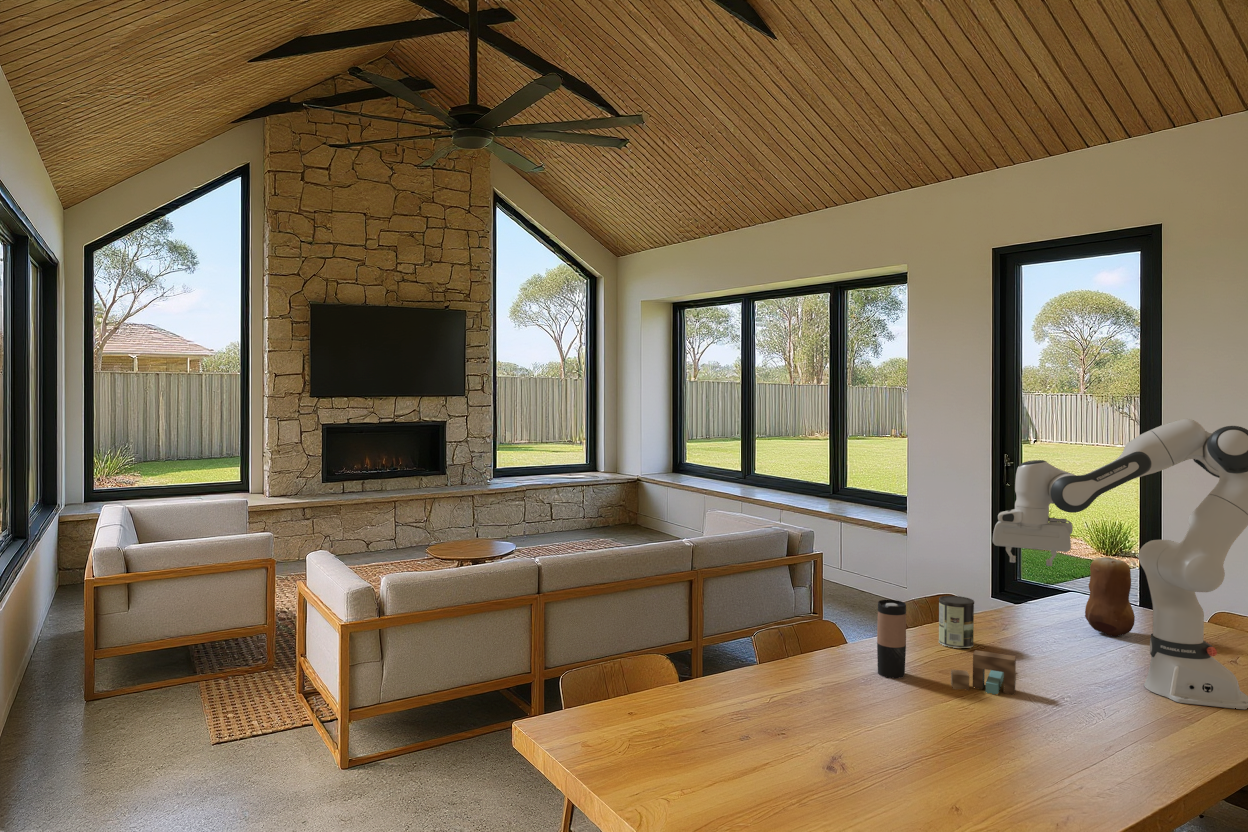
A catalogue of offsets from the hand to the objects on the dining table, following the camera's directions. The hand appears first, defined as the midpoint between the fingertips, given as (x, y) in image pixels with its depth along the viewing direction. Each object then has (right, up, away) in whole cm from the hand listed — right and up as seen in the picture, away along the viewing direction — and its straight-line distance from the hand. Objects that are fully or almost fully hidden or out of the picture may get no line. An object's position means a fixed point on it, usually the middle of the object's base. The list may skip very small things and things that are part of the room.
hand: (1030, 564), depth 234 cm
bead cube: (-28, -30, -18) cm, 45 cm away
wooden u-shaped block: (-19, -30, -19) cm, 40 cm away
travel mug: (-43, -30, -8) cm, 53 cm away
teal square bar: (-16, -30, -13) cm, 36 cm away
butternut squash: (+40, -29, +30) cm, 58 cm away
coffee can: (-14, -29, +19) cm, 37 cm away
